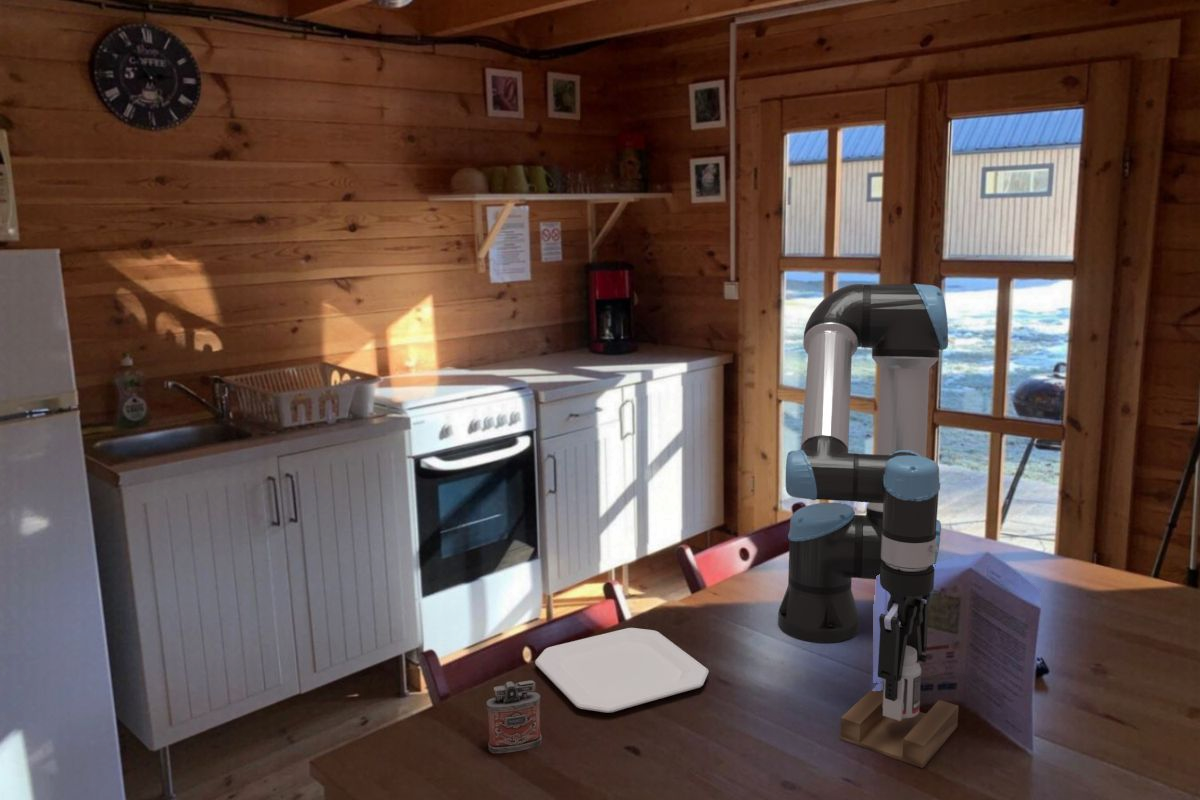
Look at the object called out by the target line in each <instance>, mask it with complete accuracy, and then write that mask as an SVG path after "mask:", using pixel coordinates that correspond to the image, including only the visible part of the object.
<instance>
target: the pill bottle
mask: <svg viewBox="0 0 1200 800" xmlns="http://www.w3.org/2000/svg"><path fill="white" fill-rule="evenodd" d="M916 661H917V651H916V649H915V648H913V647H911V646H908V645H906V650H905V657H904V663H903V670H902V678H904V694H903V715H902V718H912V717H915V716H916V715H917V714H918V713H919V712H920V708H921V707H920V706H921V683H922V682H921V680H922V668H921V665H920V666H919V664H918V663H917V662H916ZM882 682H883V697H884V679H883V678H882ZM882 707H883V701H882Z"/></svg>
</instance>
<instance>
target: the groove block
mask: <svg viewBox="0 0 1200 800" xmlns="http://www.w3.org/2000/svg"><path fill="white" fill-rule="evenodd" d="M882 701H883V690H881V691H875V692H874V691H872V688H870V689H869V690H868V691H867V693H865V694H864V695H863V696H862V697H861V698H860V699H859V700H858V701H857V702H856V703H855V704H853V706H851V708H849V710H847V712H845V713H844V714H843V715H842V716H841V717H840V733H839V735H840V736H839V738H840V740H842V741H845V742H847V743H850V744H854V745H856V746H859V747H862V748H865V749H868V750H871V751H873V752H876V753H878V754H881V755H885V756H887V757H890V758H892V759H895V760H898V761H901V762H903V763H906V764H910V765H913V766H914V767H918V768H920V769H924V767H925V766H926V765H927V764H928V763H929V761H931V759H932V758H933V757H934V755H935V754H936V753H937V752H938V751H939V749H940V748H941V747H942V746H943V745H944V744H945V743H946V741H947V740H948V739H949V737H951V736H952V734H953V733H954V731H955V730H956V729H957V728H958V724H959V721H958V720H959V709H960V707H959V705H957V704H954V703H951V702H948V701H944V700H941V699H939V700H937V702H935V704H934V705H933V706H932V707H930V709H929V710H928V711H927V713H925V712H923V711H922V712H921V711H919V713H918V714H917V715H916V716H915V717H912V718H902V720H901V721H898V720H895V719H892V718H889V717H886V716H883V707H882Z"/></svg>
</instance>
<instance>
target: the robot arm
mask: <svg viewBox="0 0 1200 800" xmlns="http://www.w3.org/2000/svg"><path fill="white" fill-rule="evenodd" d="M802 343H803V349H804V351H805V353H806V354H807V367H806V375H805V377H806V378H805V391H804V403H803V415H802V429H801V440H800V441H801V442H800V449H798V450H790V451H789V452H788V453H787V455H786V460H785V461H786V463H785V491H786V493H787V495H788V496H790V498H791V497H792V498H798V499H806V500H811V501H816V500H818V501H819V500H820V501H840V502H819V503H814V504H813V503H812V504H810V505H805V506H803V507H800V508H798V509H797V510H796V511H794V512H793V514H792V515H791V516H790V520H789V521H790V523H789V532H788V535H787V539H788V540H789V543H788V544H789V547H788V549H789V550H788V551H789V553H788V577H787V578H788V580H787V587H786V590H785V593H784V594H783V598H782V601H781V604H780V606H779V609H778V614H777V624H778V627H779V628H780V629H781V631H783V632H784V633H786V634H787V635H789V636H791V637H794V638H796V639H799V640H803V641H807V642H814V643H836V642H837V643H838V642H839V643H840V642H843V641H847V640H851V639H852V638H854V637H855V636H856V635H857V634H859V632H860V624H861V623H860V622H861V621H860V613H859V610H858V607H857V603H856V601H855V598H854V597H855V596H854V594H853V591H852V583H853V582H852V580H853V579H861V580H862V579H866V580H877V579H876V576H877V575H879V574H880V580H879V584H880V586H881V587H882V589H883V590H885V591H886V592H887V593H888V594H889V596H890V597H889V600H888V602H887V606H886V607H887V608H886V611H887V614H884V613H880V615H879V617H878V619H879V620H878V622H879V642H878V643H879V648H878V660H877V661H878V664H877V677H878V678H881V679H882V680H883V679H884V697H883V716H886V717H889V718H892V719H895V720H898V721H901V720H902V715H903V694H904V678H902V670H903V663H904V657H905V650H906V645H908V646H911V647H913V648H915V649H916V651H917V661H916V662H917V663H918V664H919V666H920V667H921V663H927V659H928V656H927V655H923V654H926V652H927V650H928V628H929V627H928V626H929V625H928V623H929V606H930V598H931V592H932V591H933V590H934V587H935V586H934V585H935V584H934V583H935V569H936V568H935V569H934V567H933V564H937V560H938V556H939V549H940V543H941V531H942V523H941V521H940V520H938V509H939V507H938V506H939V492H940V490H941V483H940V467H939V465H938V463H937V462H936V461H935V460H932V459H930V458H928V457H927V445H928V444H927V441H928V439H927V438H928V415H929V414H928V413H929V388H930V386H929V385H930V369H931V367H933V365H934V364H935V363H936V362H938V361H939V358H940V351H943V350H946V349H948V345H949V326H948V316H947V308H946V302H945V296H944V294H943V291H942V290H941V288H940V287H938V286H936V285H932V284H919V283H902V284H901V283H899V284H898V283H895V284H893V283H891V284H880V283H879V284H876V283H875V284H874V283H873V284H864V283H854V284H849V285H845V286H843V287H841V288H838V289H836V290H835V291H833V292H831V293H830V294H829V295H827V296H826V297H825V298H823V299H822V301H821V302H820V303H819V304H818V305H817V306H816V307H815V308H814V310H813V311H812V313H811V314H810V316H809V318H808V320H807V322H806V325H805V328H804V331H803V342H802ZM858 348H861V349H862V348H864V349H871V359H872V360H873V361H874V362H875V363H876V364H877V366H878V367H879V390H878V391H879V392H878V417H877V418H878V420H877V422H878V423H877V442H876V443H877V446H876V447H877V449H876V454H875V453H857V452H855V453H853V452H849V443H850V442H849V441H850V419H851V418H850V417H851V416H850V414H851V413H850V411H851V388H852V387H851V386H852V384H851V383H852V357H853V356H854V355H855V353H856V352H857V350H858ZM841 501H843V502H857V503H868V504H866V513H865V514H856V511H855V510H854V507H853V506H851V505H849V504H847V503H841Z"/></svg>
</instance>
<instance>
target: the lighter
mask: <svg viewBox="0 0 1200 800" xmlns="http://www.w3.org/2000/svg"><path fill="white" fill-rule="evenodd" d="M493 693H494V697H491V698H490V699H488V700H487V701H486V709H487V718H488V737H489V741H488V742H487V744H488V751H489V752H490V753H492V754H503V753H505V754H506V753H513V752H519V751H524V750H529V749H531V748H535V747H538V746H540V745H541V744H542V742H543V741H542V739H543V738H542V734H541V719H540V717H541V716H540V714H541V713H540V703H541V695H540V694H539V693H538V692H536V682H535V681H534V679H533V680H525V681H519V682H517V683H514V682H513V681H507V682H505V684H504V685H499V686H495V687H493Z"/></svg>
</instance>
